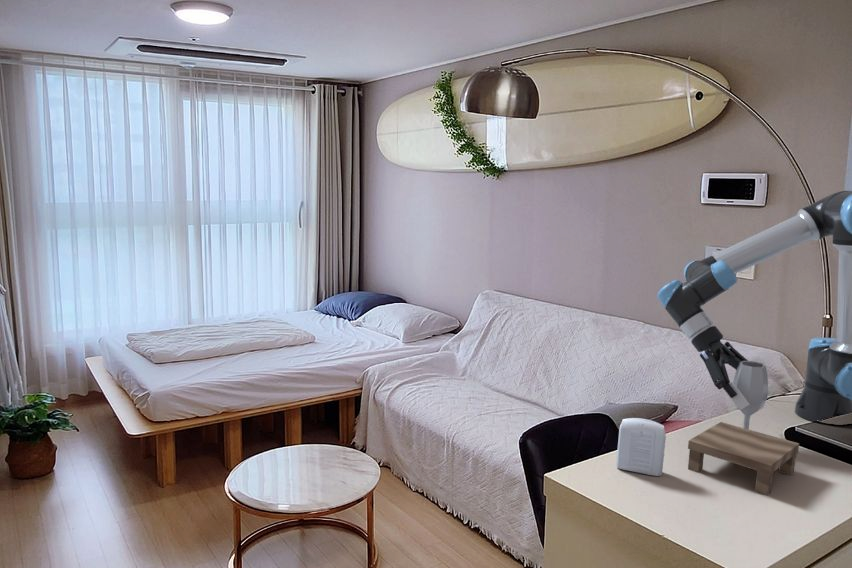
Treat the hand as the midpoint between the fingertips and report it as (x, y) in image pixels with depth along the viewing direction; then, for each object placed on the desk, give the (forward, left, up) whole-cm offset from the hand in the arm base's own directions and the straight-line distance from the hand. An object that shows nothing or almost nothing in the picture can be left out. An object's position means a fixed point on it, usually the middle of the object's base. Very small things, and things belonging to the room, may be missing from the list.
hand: (755, 401), depth 169 cm
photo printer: (+36, -12, -12) cm, 40 cm away
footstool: (+18, +4, -12) cm, 22 cm away
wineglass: (0, -2, -12) cm, 12 cm away
